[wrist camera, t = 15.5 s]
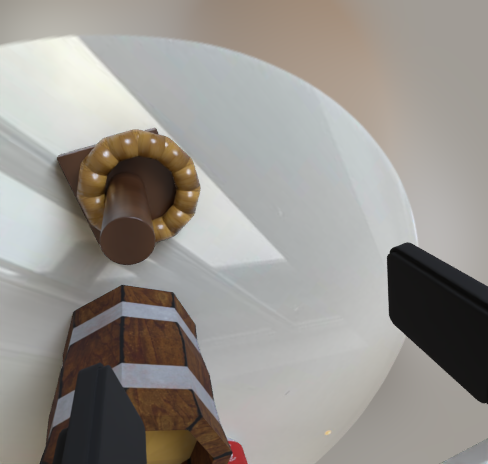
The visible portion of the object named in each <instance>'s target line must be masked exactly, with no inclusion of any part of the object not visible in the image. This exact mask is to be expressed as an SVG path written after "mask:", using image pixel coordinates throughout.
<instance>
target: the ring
mask: <svg viewBox="0 0 488 464" xmlns="http://www.w3.org/2000/svg"><path fill="white" fill-rule="evenodd" d="M137 156H141V157H145V158H150V159H154V160H158V161H159V162H160V163H161V164H162V165H164V166H165V167H166V168H167V169H168V170H169V171H170V172H171V173H172V176H173V179H174V182H175V185H176V188H177V189H176V194H175V199H174V203H173V205H172V206H171V207H170V208H169V209H168V211H167V212H166V213H165V214H164V215H163V216H162V217H159V218H156V219H154V220H152V223H153V228H154V233H155V238H156V242H155V243H157V242H159V241H162V240H165V239H168V238H171V237H173V236H175V235H176V234H177V233H178V232H179V231H180V230H181V229H182V228H183V227H184V226H185V225H186V224H187V223H188V221H189V220H190V219H191V218H192V217H193V216H194V214H195V210H196V206H197V202H198V198H199V194H200V183H199V180H198V177H197V173H196V170H195V167H194V163H193V161H192V159H191V158H190V157H189V156H188V155H187V154H186V153H185V152H184V151H183V150H182V149H181V148H180V147H179V146H178V145H177V144H176V143H174V142H173V141H172V140H171V139H170V138H168V137H166V136H162V135H158V134H154V133H150V132H146V131H142V130H138V129H134V130H130V131H126V132H123V133H119V134H116V135H112V136H109V137H106V138H103V139H102V140H101V141H100V142H99V143H98V144H97V145H96V146H95V147H94V148H93V150H92V151H91V152H90V153H89V154H88V155H87V156H86V157H85V159H84V160H83V161H82V162H81V164H80V170H79V178H78V186H77V198H78V200H79V202H80V204H81V206H82V208H83V210H84V212H85V214H86V216H87V218H88V220H89V222H90V223H91V225H92V226H94V227H95V228H97V229H98V230H100V231H101V228H102V221H103V215H104V208H105V202H106V195H105V187H106V180H107V175H108V174H109V173H110V172H111V171H112V170H113V168H114V167H115V166H116V165H117V164H118V163H119V162H120V161H123V160H127V159H130V158H133V157H137Z"/></svg>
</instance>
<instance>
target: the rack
mask: <svg viewBox="0 0 488 464" xmlns="http://www.w3.org/2000/svg"><path fill="white" fill-rule="evenodd" d="M145 131H146V132H150V133H154V134H158V132H157V129H156V128H152V129H149V130H145ZM96 145H97V144H96ZM96 145H92V146H89V147H85V148H82V149H78V150H75V151H71V152H68V153H64V154H61V155H59V156H58V157H57V160H58V162H59V164H60V166H61V168H62V170H63V172H64V174H65V176H66V178H67V180H68V182H69V184H70V186H71V188H72V190H73V193H74V195H75V197H76V199H77V201H78V203H79V205H80V207H81V209H82V211H83V213H84V215H85V217H86V219H87V221H88V223H89V225H90V227H91V229H92V231H93V233H94V235H95V237H96V239H97V241H98V243H99V245H100V247H101V249H102V251H103V253H104V254H105V256H106V257H108V258H109V259H110V260H112V261H113V262H116V263H118V264H123V265H132V264H136V263H139V262H141V261H143V260H145V259H146V258H147V257H148V256H149V255H150V254H151V253H152V251H153V249H154V247H155V242H156V238H155V233H154V228H153V223H152V220H154V219H156V218H159V217H162V216H163V215H164V214H165V213H166V212H167V211H168V209H169V208H170V207H171V206H172V205H173V203H174V199H175V194H176V189H177V188H176V185H175V182H174V179H173V176H172V173H171V172H170V171H169V170H168V169H167V168H166V167H165V166H164V165H162V164H161V163H160V162H159V161H158V160H154V159H150V158H145V157H141V156H137V157H133V158H130V159H127V160H123V161H120V162H119V163H118V164H117V165H116V166H115V167H114V168H113V170H112V171H111V172H110V173H109V174H108V175H107V180H106V187H105V195H106V202H105V208H104V215H103V221H102V228H101V231H100V230H98V229H97V228H95V227H94V226H92V225H91V223H90V222H89V220H88V218H87V216H86V214H85V212H84V210H83V208H82V206H81V204H80V202H79V200H78V198H77V186H78V178H79V170H80V164H81V162H82V161H83V160H84V159H85V157H86V156H87V155H88V154H89V153H90V152H91V151H92V150H93V148H94V147H95V146H96Z"/></svg>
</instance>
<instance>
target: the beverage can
mask: <svg viewBox="0 0 488 464" xmlns="http://www.w3.org/2000/svg"><path fill="white" fill-rule="evenodd" d="M227 440H228V443H229V445H230V447H231V450H232V452H233V453H232V455H231V458H230V460H229V462H228V464H247V460H246V457H245V454H244V451H243V448H242V446H241V445H240V444H239V443H238V442H235V441H233V440H231V439H228V438H227Z"/></svg>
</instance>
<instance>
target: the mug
mask: <svg viewBox="0 0 488 464" xmlns="http://www.w3.org/2000/svg"><path fill="white" fill-rule="evenodd" d="M97 363H102V364H103V366H106V365H110V366H111V368H112V369H113V371H114V373H115V375H116V376H117V378H118V380H119V381H120V383H121V385H122V387H123V388H124V390H125V392H126V393H127V395H128V397H129V399H130V400H131V402H132V404H133V405H134V407H135V409H136V411H137V412H138V414H139V416H140V417H141V419H142V421H143V424H144V427H145V433H146V454H147V464H228V462H229V460H230V458H231V455H232V453H233V452H232V450H231V447H230V445H229V443H228V440H227V438H226V436H225V433H224V431H223V429H222V427H221V424H220V421H219V417H218V413H217V410H216V406H215V403H214V398H213V392H212V386H211V380H210V375H209V373H208V370H207V368H206V365H205V363H204V361H203V358H202V356H201V353H200V349H199V346H198V342H197V335H196V325H195V324H194V322H193V321H192V319H191V318H190V316H189V315H188V313H187V312H186V310H185V309H184V308H183V306H182V305H181V303H180V302H179V300H178V299H177V297H176V296H175V294H174V293H173V292H166V291H159V290H152V289H146V288H139V287H132V286H125V285H121V286H119V287H118V288H116V289H114V290H112V291H110V292H108V293H107V294H105V295H103V296H101V297H99V298H97V299H96V300H94V301H92V302H90V303H88V304H87V305H85V306H83V307H81V308H79V309H77V310H76V311H74V312H73V316H72V320H71V324H70V328H69V332H68V336H67V340H66V344H65V348H64V352H63V365H62V368H61V372H60V376H59V380H58V384H57V388H56V392H55V396H54V400H53V404H52V408H51V412H50V415H49V421H48V430H47V439H46V447H45V450H44V453H43V455H42V458H41V461H40V464H52V463H53V458H54V453H55V448H56V444H57V439H58V436H59V433H60V432H61V430H62V429H65V428H67V427H68V425H69V419H70V414H71V409H72V403H73V398H74V392H75V387H76V381H77V376H78V372H79V371H80V370H82V369H84V368H87V367H90V366H92V365H95V364H97Z"/></svg>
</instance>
